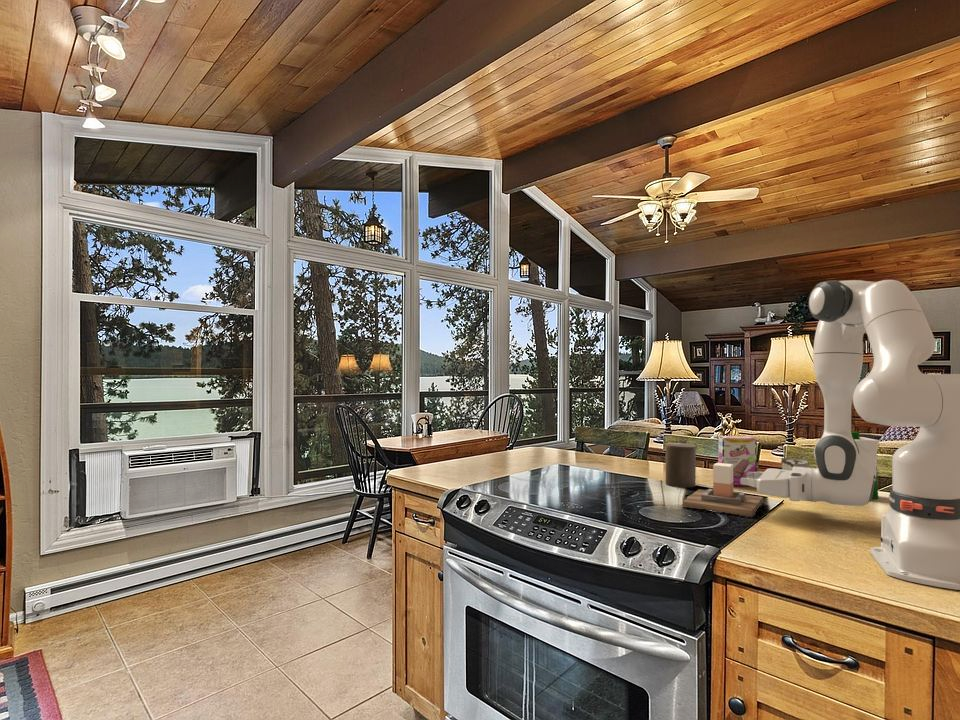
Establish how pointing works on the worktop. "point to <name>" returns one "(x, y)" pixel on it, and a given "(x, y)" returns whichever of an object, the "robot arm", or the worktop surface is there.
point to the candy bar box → (738, 455)
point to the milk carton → (868, 456)
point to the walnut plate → (724, 502)
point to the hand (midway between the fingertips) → (743, 477)
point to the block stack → (723, 480)
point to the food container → (793, 463)
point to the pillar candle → (680, 464)
